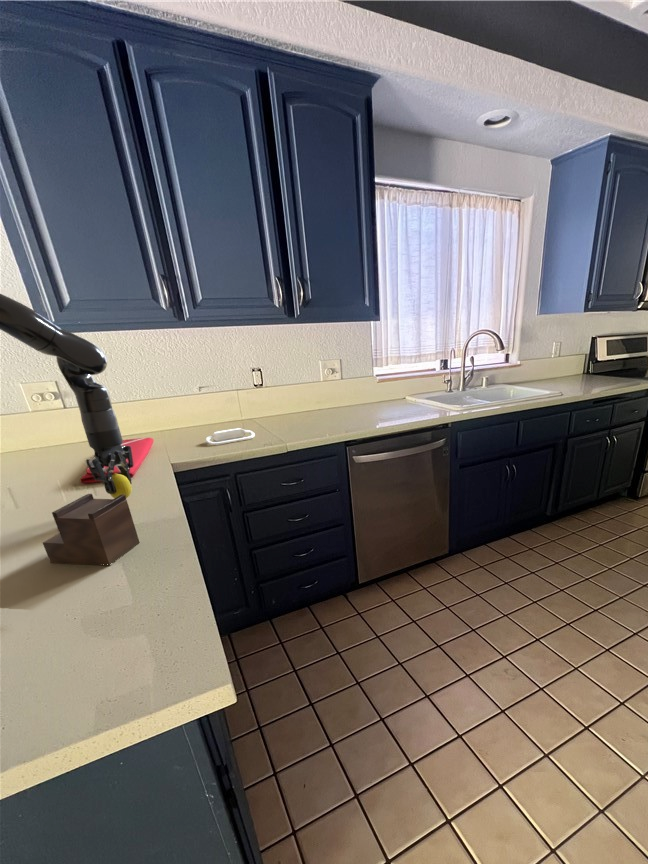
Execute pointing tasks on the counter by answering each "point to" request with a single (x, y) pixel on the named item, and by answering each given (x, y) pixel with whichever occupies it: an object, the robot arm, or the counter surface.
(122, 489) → the lemon
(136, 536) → the wooden step block
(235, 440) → the white butter dish
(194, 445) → the counter surface
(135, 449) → the folded red towel
